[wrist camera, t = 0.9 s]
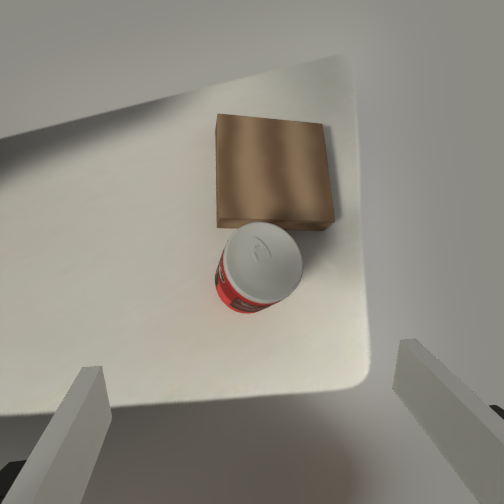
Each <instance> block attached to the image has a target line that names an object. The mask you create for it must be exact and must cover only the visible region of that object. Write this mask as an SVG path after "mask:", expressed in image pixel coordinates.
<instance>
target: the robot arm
mask: <svg viewBox="0 0 504 504" xmlns="http://www.w3.org/2000/svg"><path fill="white" fill-rule="evenodd" d="M392 389H393V390H394V391H395V392H396V394H397V395H398V397H399V398H400V399H401V401H402V402H403V403H404V405H405V406H406V407H407V408H408V410H409V411H410V412H411V414H412V415H413V416H414V418H415V419H416V420H417V422H418V423H419V424H420V426H421V427H422V428H423V430H424V431H425V432H426V434H427V435H428V436H429V437H430V439H431V440H432V441H433V443H434V444H435V445H436V447H437V448H438V449H439V450H440V452H441V453H442V455H443V456H444V457H445V459H446V460H447V461H448V462H449V464H450V465H451V467H452V468H453V469H454V470H455V472H456V473H457V474H458V476H459V477H460V478H461V480H462V481H463V482H464V484H465V485H466V486H467V488H468V489H469V490H470V492H471V493H472V494H473V495H474V497H475V498H476V499H477V501H478V502H479V503H480V504H504V410H503V409H502V408H500V407H498V406H497V405H490V406H488V405H487V404H486V403H485V402H484V401H483V400H482V399H481V398H479V397H478V396H477V395H476V394H475V393H474V392H473V391H472V390H471V389H470V388H469V387H468V386H466V385H465V384H464V383H463V382H462V381H461V380H460V379H459V378H458V377H457V376H456V375H454V374H453V373H452V372H451V371H450V370H449V369H448V368H447V367H446V366H445V365H444V364H443V363H441V362H440V361H439V360H438V359H437V358H436V357H435V356H434V355H433V354H432V353H431V352H430V351H429V350H427V349H426V348H425V347H424V346H423V345H422V344H421V343H420V342H419V341H418V340H417V339H405V340H400V344H399V351H398V357H397V363H396V370H395V376H394V382H393V388H392ZM111 419H112V415H111V410H110V405H109V400H108V395H107V390H106V384H105V379H104V374H103V369H102V366H93V367H82V369H81V371H80V372H79V374H78V376H77V377H76V379H75V381H74V382H73V384H72V386H71V387H70V389H69V391H68V392H67V394H66V396H65V397H64V399H63V401H62V402H61V404H60V406H59V407H58V409H57V411H56V413H55V414H54V416H53V418H52V419H51V421H50V423H49V424H48V426H47V428H46V429H45V431H44V433H43V434H42V436H41V438H40V439H39V441H38V443H37V444H36V446H35V448H34V449H33V451H32V453H31V455H30V456H29V458H28V460H24V461H15V462H9V463H8V464H7V465H6V466H5V467H4V468H3V469H2V470H1V471H0V504H80V503H81V500H82V497H83V495H84V492H85V489H86V487H87V484H88V481H89V479H90V476H91V473H92V470H93V468H94V465H95V463H96V460H97V457H98V454H99V451H100V449H101V446H102V444H103V441H104V438H105V436H106V433H107V430H108V428H109V425H110V422H111Z"/></svg>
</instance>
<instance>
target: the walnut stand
mask: <svg viewBox="0 0 504 504" xmlns="http://www.w3.org/2000/svg"><path fill="white" fill-rule="evenodd" d="M215 135H216V199H217V228H240V227H242V226H244V225H246V224H249V223H253V222H267V223H271V224H274V225H276V226H278V227H280V228H282V229H283V230H317V231H324V230H325V229H327V228H328V227H329V226H330V225H331V224H332V223H334V222H335V218H334V210H333V202H332V194H331V187H330V179H329V171H328V164H327V156H326V148H325V140H324V133H323V125H322V124H318V123H308V122H298V121H288V120H278V119H268V118H257V117H247V116H237V115H227V114H217V122H216V130H215Z"/></svg>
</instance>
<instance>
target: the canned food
mask: <svg viewBox="0 0 504 504" xmlns="http://www.w3.org/2000/svg"><path fill="white" fill-rule="evenodd" d="M302 271H303V260H302V255H301V252H300V250H299V247H298V245H297V244H296V242H295V241H294V239H293V238H292V237H291V236H290V235H289V234H288V233H287V232H286V231H285V230H283V229H282V228H280V227H278V226H276V225H274V224H271V223H267V222H253V223H249V224H246V225H244V226H242V227H240V228H239V229H238V230H237V231H235V232H234V233H233V234H232V236H231V237H230V238H229V240H228V242H227V244H226V246H225V248H224V250H223V253H222V256H221V259H220V262H219V265H218V267H217V270H216V275H215V285H216V290H217V292H218V295H219V297H220V298H221V300H222V301H223V302H224V303H225V304H226V305H227V306H228V307H229V308H231V309H233V310H235V311H237V312H240V313H255V312H258V311H260V310H263V309H265V308H267V307H269V306H271V305H273V304H276V303H278V302H280V301H281V300H283V299H285V298H286V297H288V296H289V295H290V294H291V293H292V292H293V291H294V290H295V289H296V287H297V286H298V284H299V282H300V279H301V277H302Z"/></svg>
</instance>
